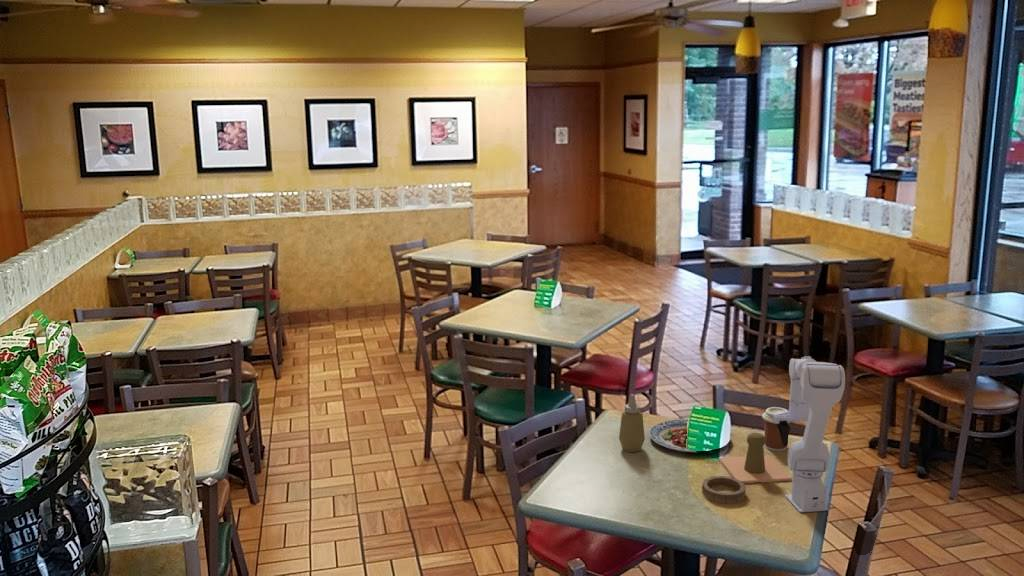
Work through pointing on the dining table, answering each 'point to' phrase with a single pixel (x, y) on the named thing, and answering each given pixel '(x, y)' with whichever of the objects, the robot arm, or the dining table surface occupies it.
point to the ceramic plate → (671, 434)
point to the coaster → (738, 472)
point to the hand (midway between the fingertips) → (797, 444)
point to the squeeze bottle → (632, 427)
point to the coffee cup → (773, 429)
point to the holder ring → (721, 496)
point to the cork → (755, 454)
